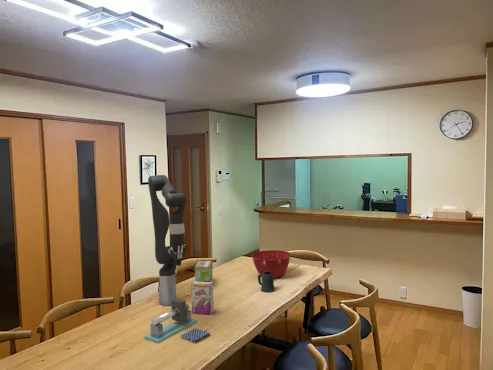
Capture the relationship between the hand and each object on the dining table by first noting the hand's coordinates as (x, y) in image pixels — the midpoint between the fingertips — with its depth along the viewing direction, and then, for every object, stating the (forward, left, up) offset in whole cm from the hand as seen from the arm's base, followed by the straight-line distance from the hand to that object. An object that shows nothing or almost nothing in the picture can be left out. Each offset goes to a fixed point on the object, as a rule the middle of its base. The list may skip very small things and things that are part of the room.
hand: (178, 265), depth 186 cm
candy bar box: (+3, +14, -29) cm, 33 cm away
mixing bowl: (+2, +89, -29) cm, 94 cm away
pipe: (+4, -10, -29) cm, 31 cm away
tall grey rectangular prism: (+4, -5, -26) cm, 27 cm away
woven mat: (+19, -9, -30) cm, 36 cm away
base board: (+4, -10, -29) cm, 31 cm away
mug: (+14, +62, -29) cm, 70 cm away
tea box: (-27, +49, -29) cm, 63 cm away
